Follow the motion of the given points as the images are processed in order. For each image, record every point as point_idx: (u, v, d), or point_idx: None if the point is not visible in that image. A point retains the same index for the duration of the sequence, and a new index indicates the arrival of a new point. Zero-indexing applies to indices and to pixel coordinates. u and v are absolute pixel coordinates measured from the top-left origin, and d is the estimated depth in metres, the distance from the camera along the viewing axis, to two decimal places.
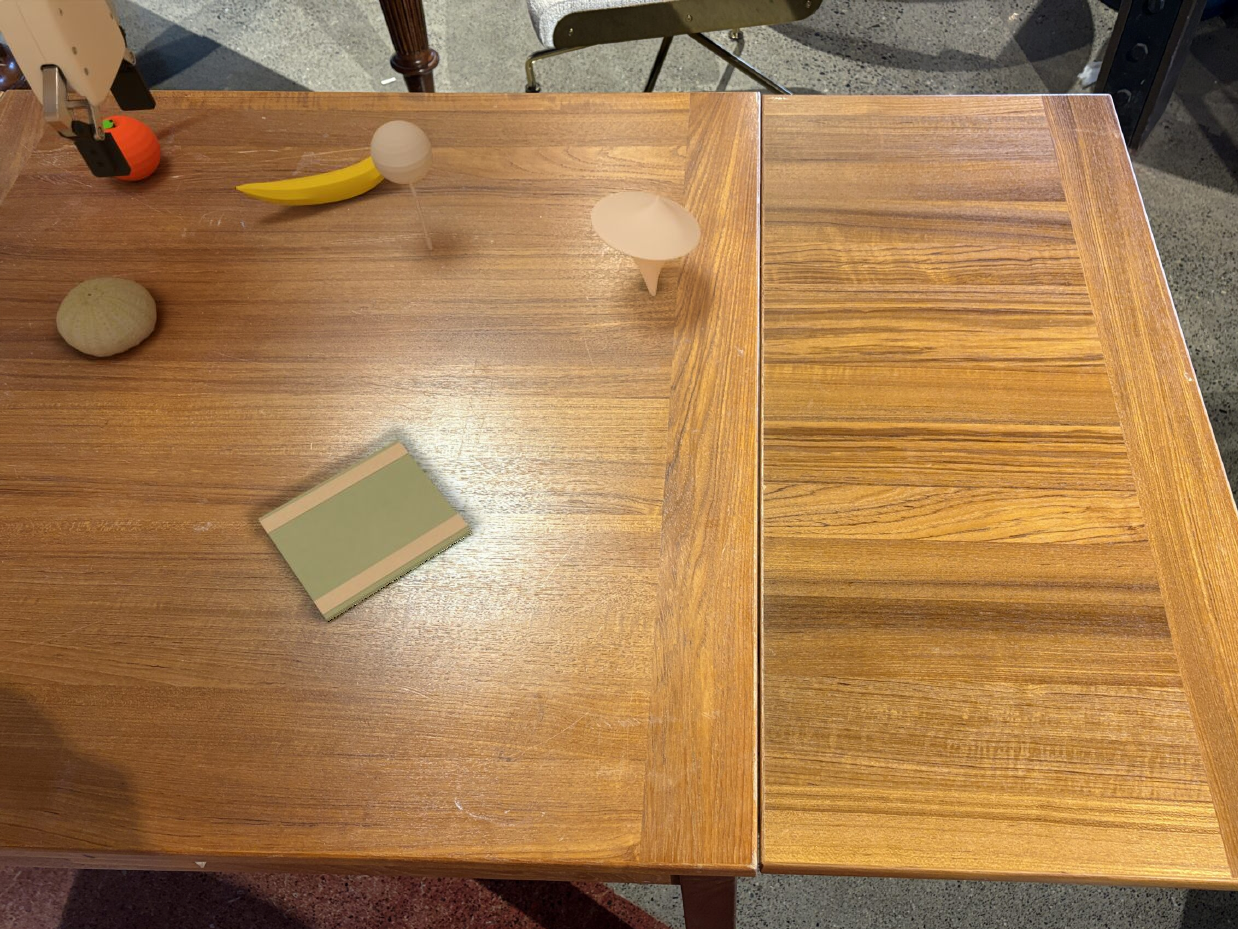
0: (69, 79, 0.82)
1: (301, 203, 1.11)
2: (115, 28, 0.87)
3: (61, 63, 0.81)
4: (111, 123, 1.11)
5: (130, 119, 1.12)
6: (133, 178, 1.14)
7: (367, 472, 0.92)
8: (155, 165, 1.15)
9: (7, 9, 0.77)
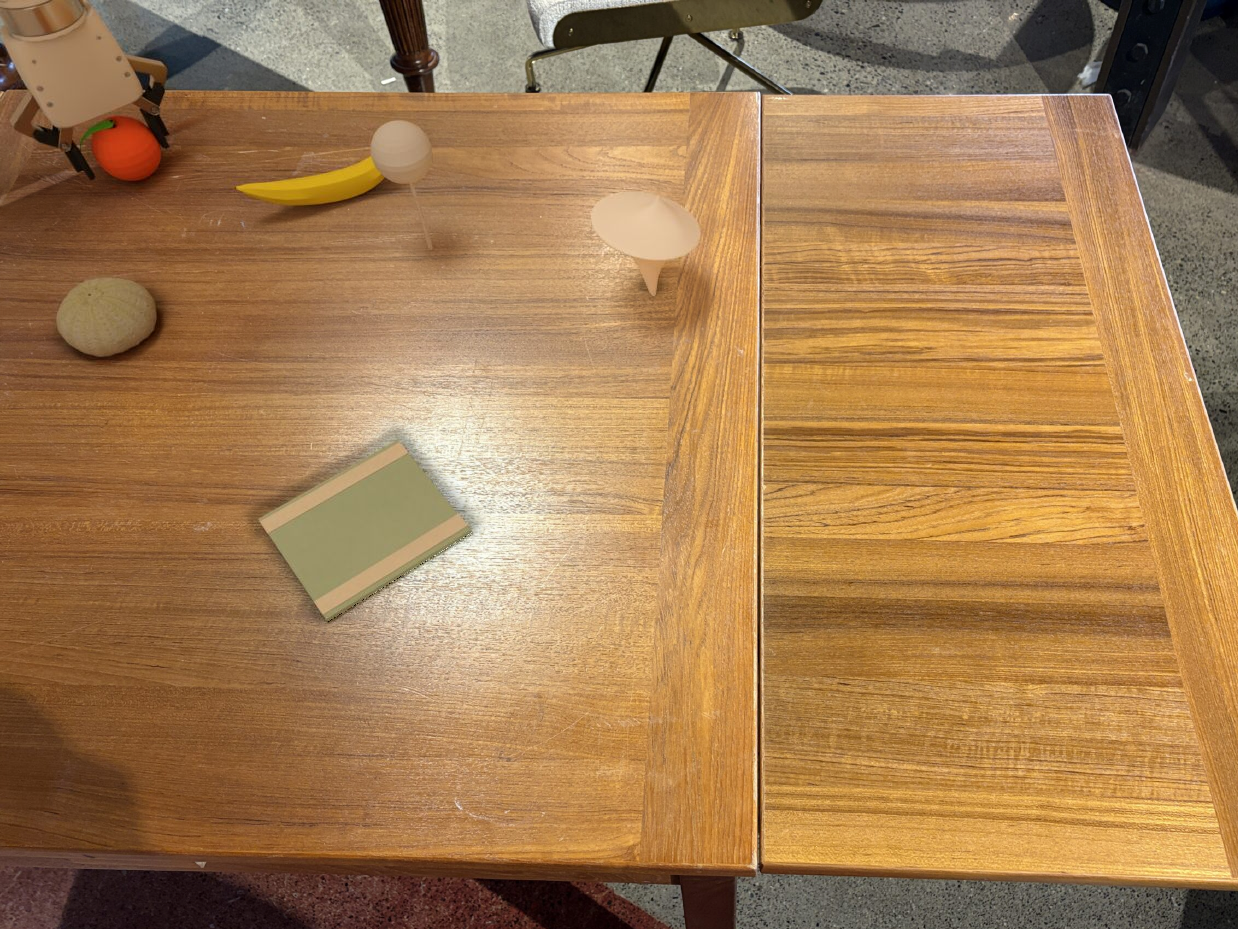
0: (38, 103, 1.05)
1: (301, 203, 1.11)
2: (127, 83, 1.08)
3: (31, 91, 1.04)
4: (111, 123, 1.11)
5: (130, 119, 1.12)
6: (133, 178, 1.14)
7: (367, 472, 0.92)
8: (155, 165, 1.15)
9: (4, 42, 1.01)
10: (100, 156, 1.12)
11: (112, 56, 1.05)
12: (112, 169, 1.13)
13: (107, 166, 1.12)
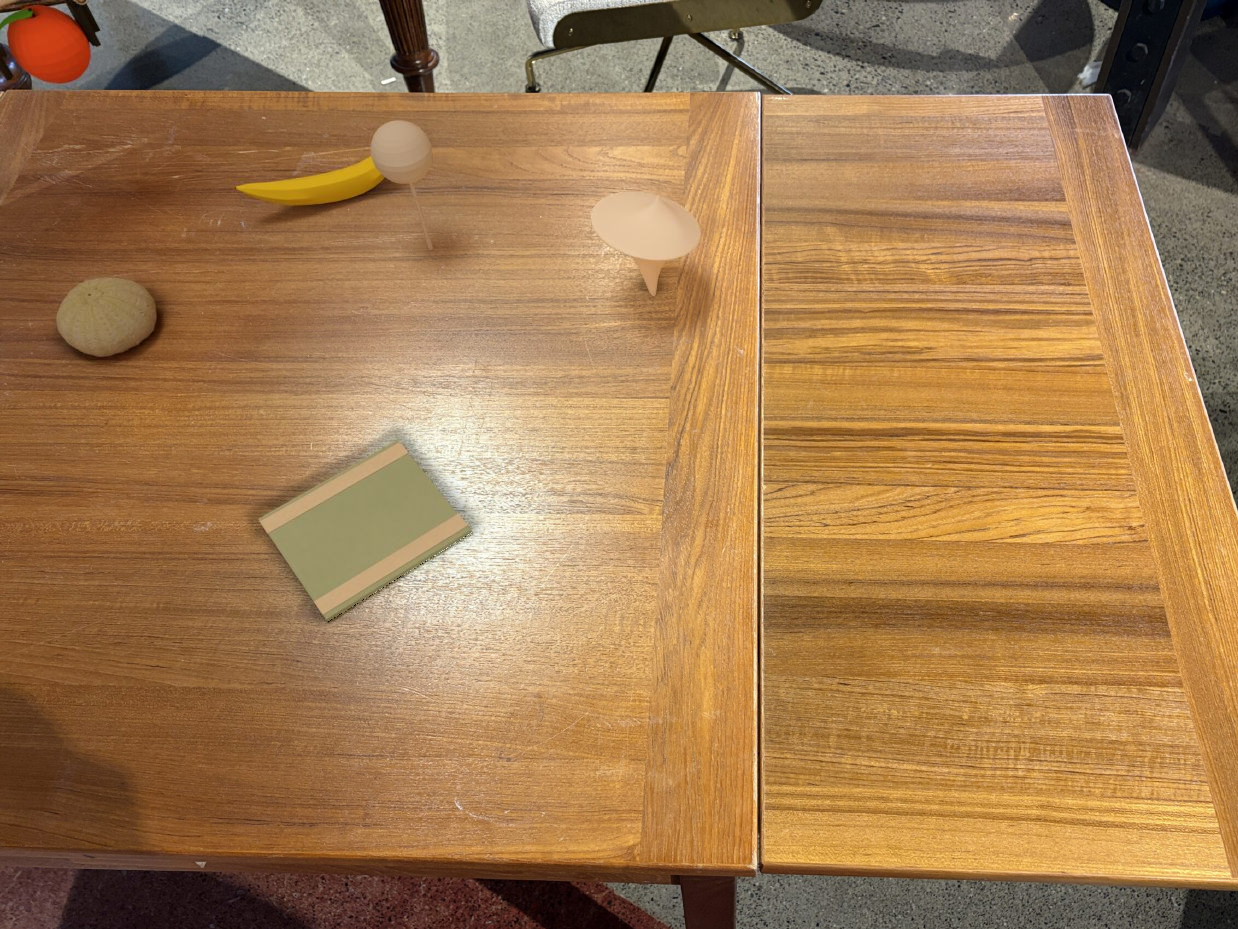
0: None
1: (301, 203, 1.11)
2: None
3: None
4: (30, 12, 0.96)
5: (53, 9, 0.97)
6: (58, 79, 0.99)
7: (367, 472, 0.92)
8: (84, 65, 1.00)
9: None
10: (18, 52, 0.96)
11: None
12: (32, 67, 0.97)
13: (26, 63, 0.97)
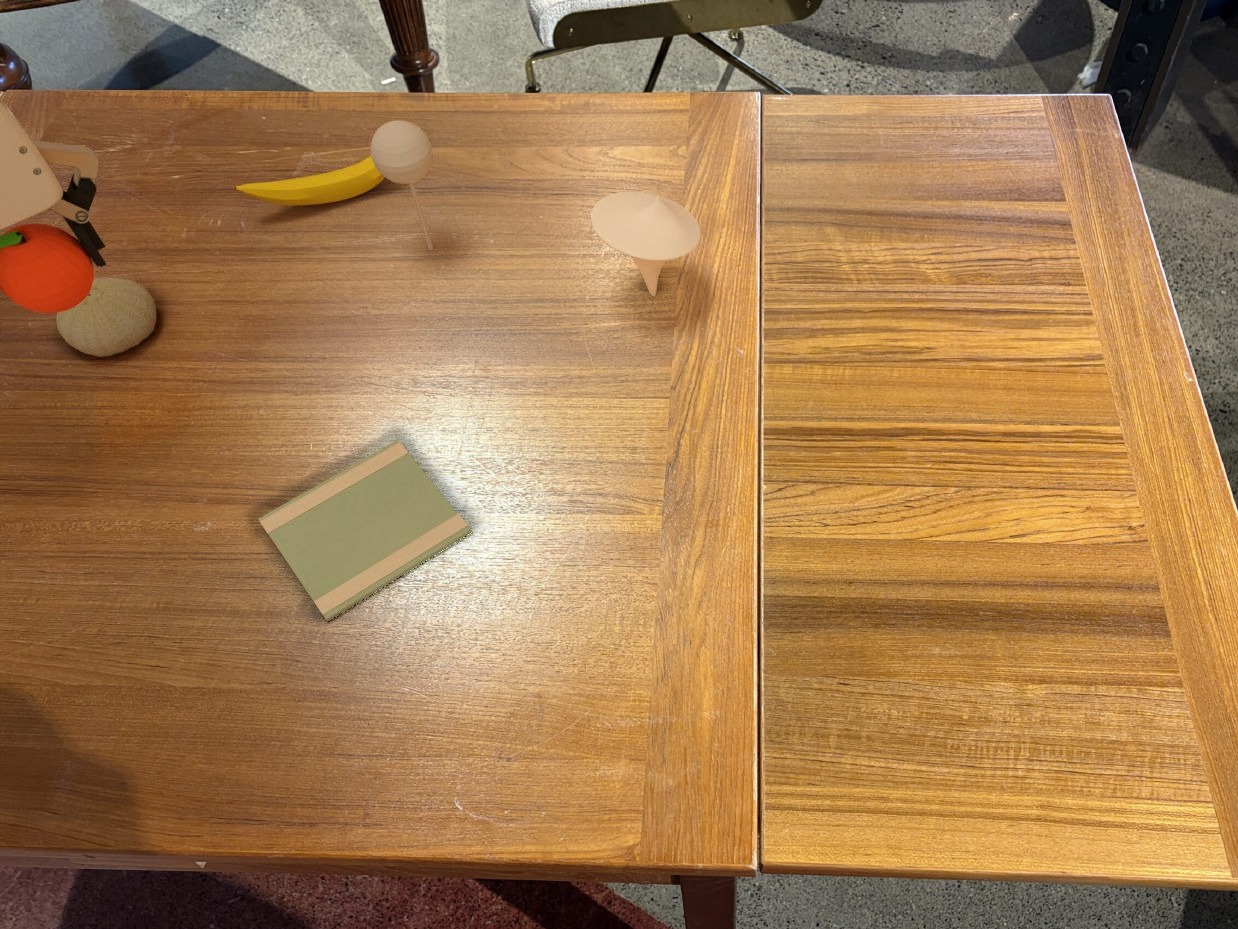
0: None
1: (301, 203, 1.11)
2: (37, 184, 0.74)
3: None
4: (19, 237, 0.77)
5: (47, 230, 0.78)
6: (54, 311, 0.80)
7: (367, 472, 0.92)
8: (86, 291, 0.81)
9: None
10: (3, 284, 0.78)
11: (12, 147, 0.71)
12: (21, 300, 0.78)
13: (14, 297, 0.78)
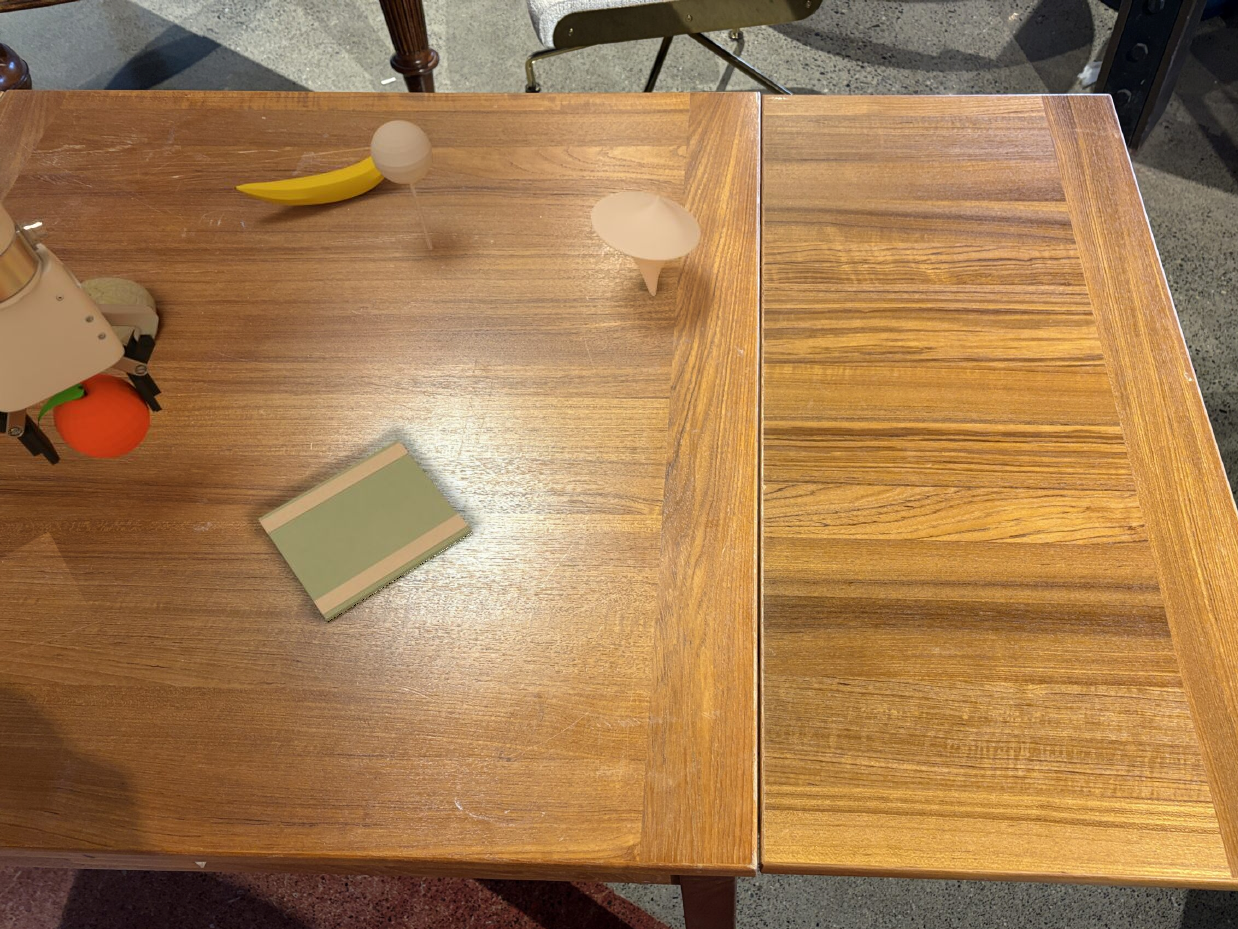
0: None
1: (301, 203, 1.11)
2: (101, 347, 0.77)
3: None
4: (81, 391, 0.80)
5: (107, 382, 0.82)
6: (112, 456, 0.84)
7: (367, 472, 0.92)
8: (142, 436, 0.84)
9: None
10: (66, 435, 0.81)
11: (80, 317, 0.75)
12: (82, 450, 0.82)
13: (75, 446, 0.81)
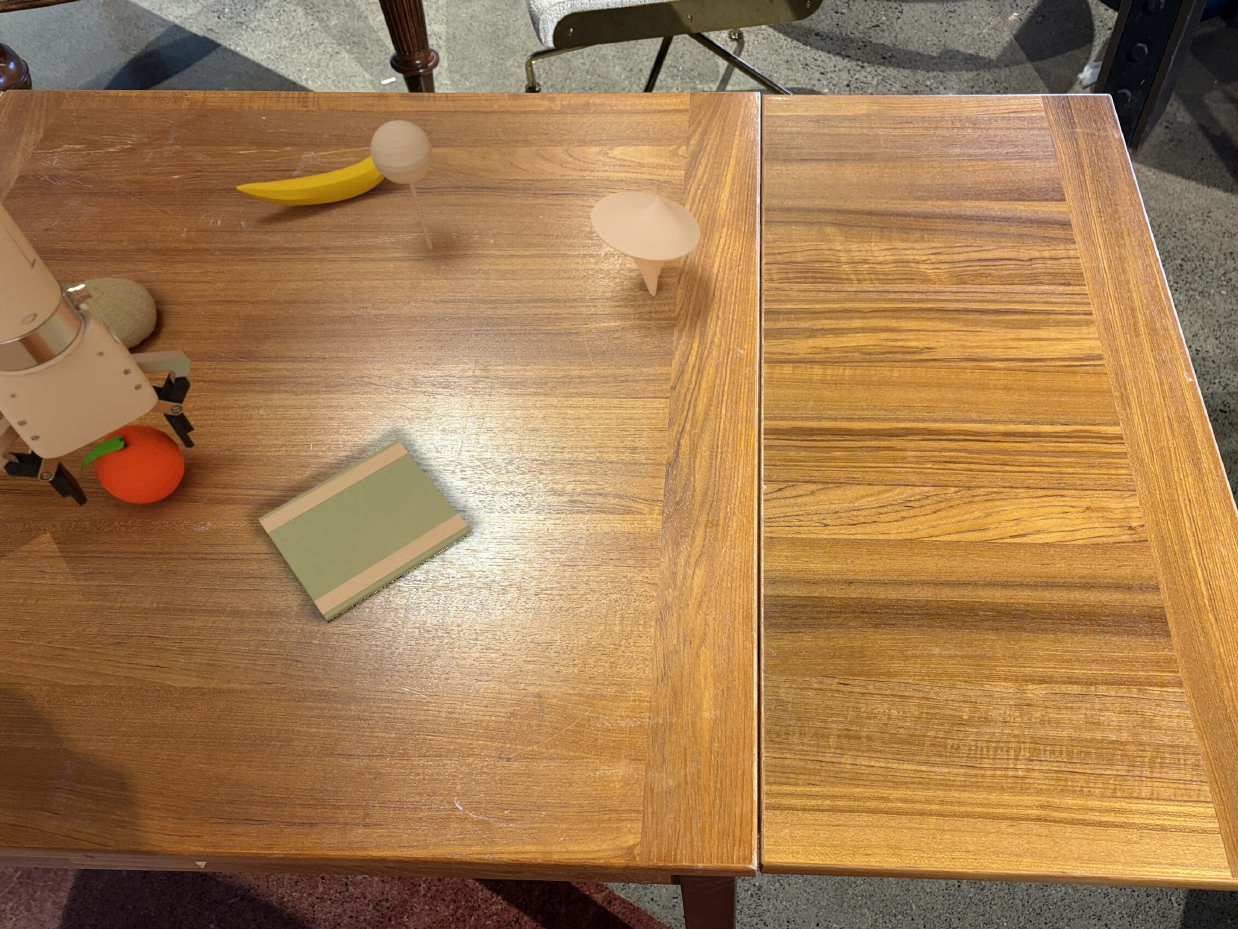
0: None
1: (301, 203, 1.11)
2: (137, 396, 0.82)
3: (10, 424, 0.78)
4: (121, 443, 0.86)
5: (145, 434, 0.87)
6: (149, 502, 0.89)
7: (367, 472, 0.92)
8: (177, 483, 0.90)
9: None
10: (107, 484, 0.86)
11: (118, 370, 0.79)
12: (122, 497, 0.87)
13: (116, 494, 0.87)
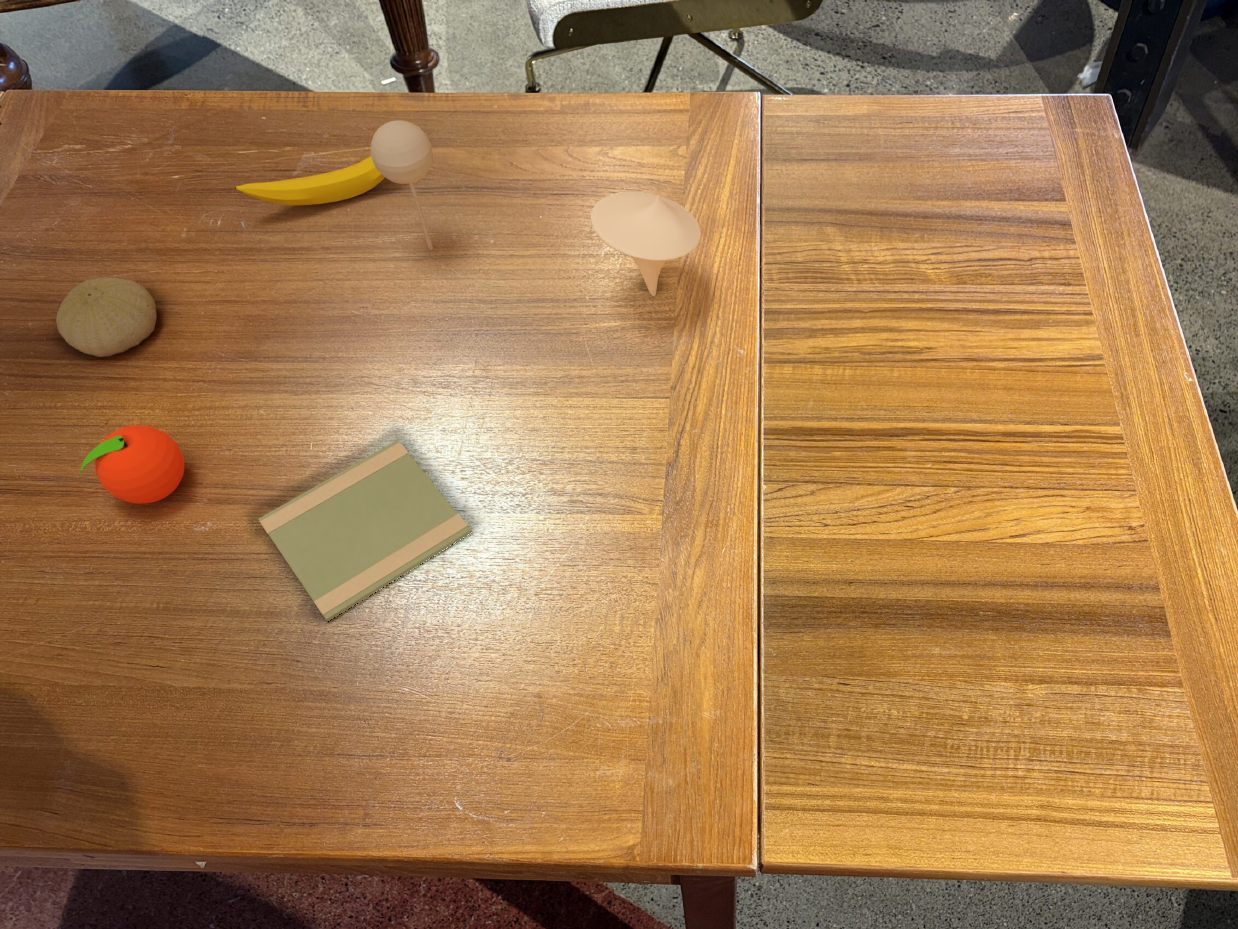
0: None
1: (301, 203, 1.11)
2: None
3: None
4: (121, 443, 0.86)
5: (145, 434, 0.87)
6: (149, 502, 0.89)
7: (367, 472, 0.92)
8: (177, 483, 0.90)
9: None
10: (107, 484, 0.86)
11: None
12: (122, 497, 0.87)
13: (116, 494, 0.87)
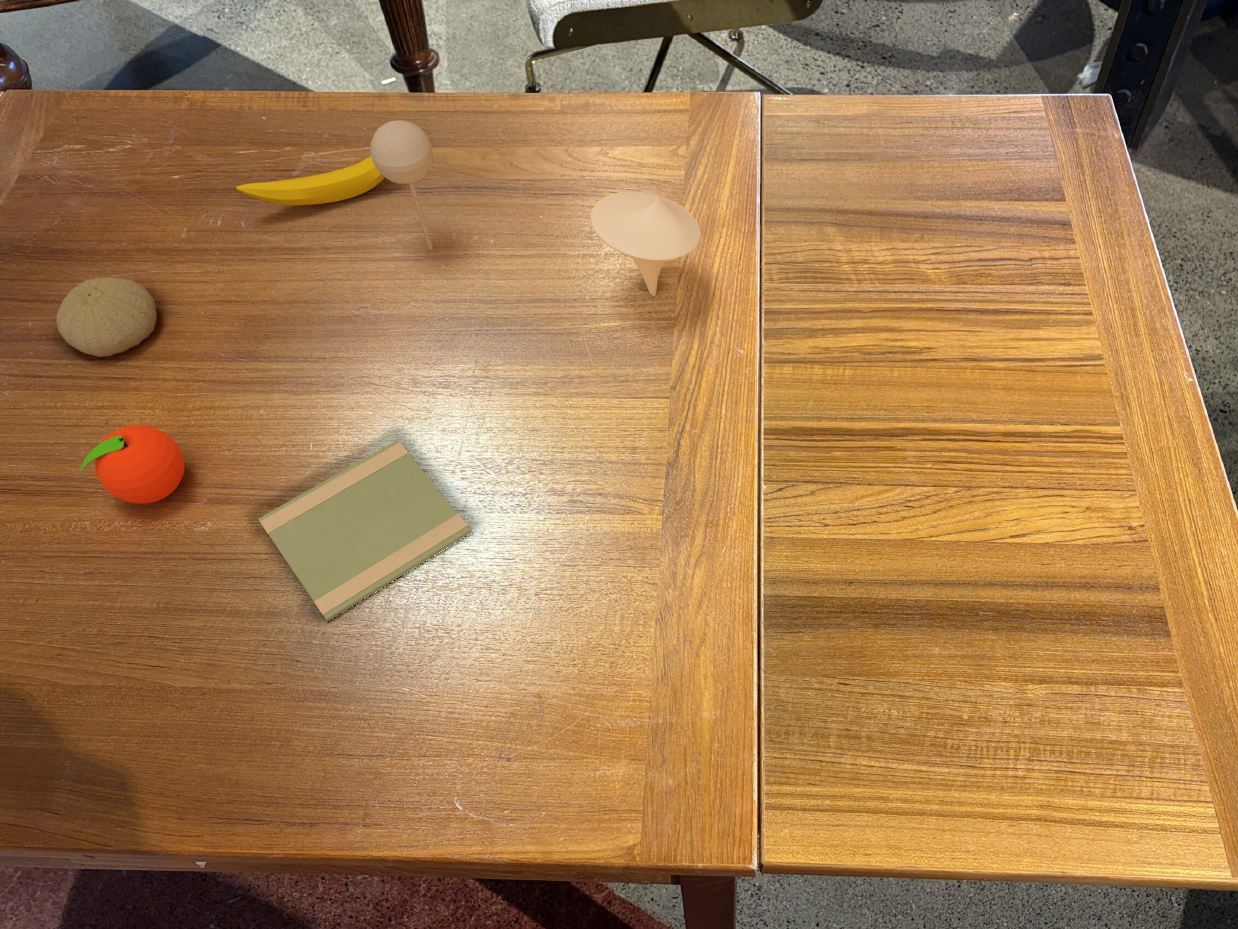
0: None
1: (301, 203, 1.11)
2: None
3: None
4: (121, 443, 0.86)
5: (145, 434, 0.87)
6: (149, 502, 0.89)
7: (367, 472, 0.92)
8: (177, 483, 0.90)
9: None
10: (107, 484, 0.86)
11: None
12: (122, 497, 0.87)
13: (116, 494, 0.87)
